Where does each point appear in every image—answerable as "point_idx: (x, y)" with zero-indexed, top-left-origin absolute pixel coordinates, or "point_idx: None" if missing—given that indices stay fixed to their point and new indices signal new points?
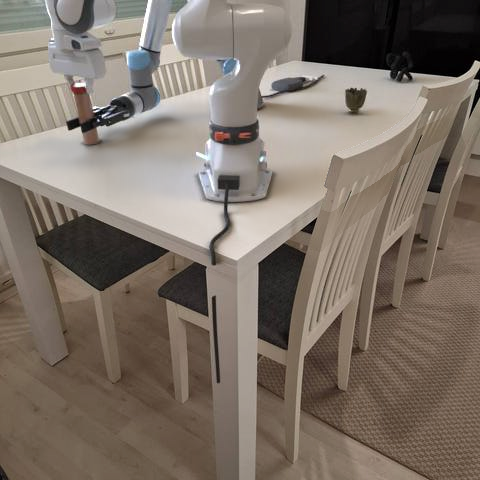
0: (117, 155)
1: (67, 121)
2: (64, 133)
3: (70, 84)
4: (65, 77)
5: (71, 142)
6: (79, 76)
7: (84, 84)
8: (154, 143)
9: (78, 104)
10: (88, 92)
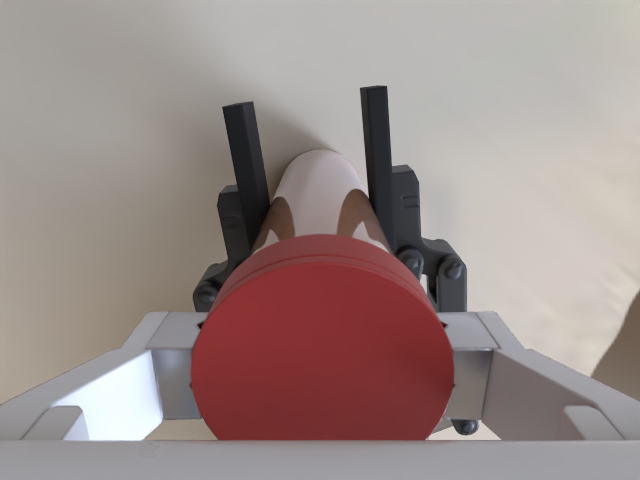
0: (44, 122)
1: (372, 89)
2: (565, 206)
3: (493, 354)
4: (624, 414)
5: (417, 128)
6: (106, 440)
7: (278, 423)
8: (54, 325)
9: (302, 207)
10: (148, 319)
